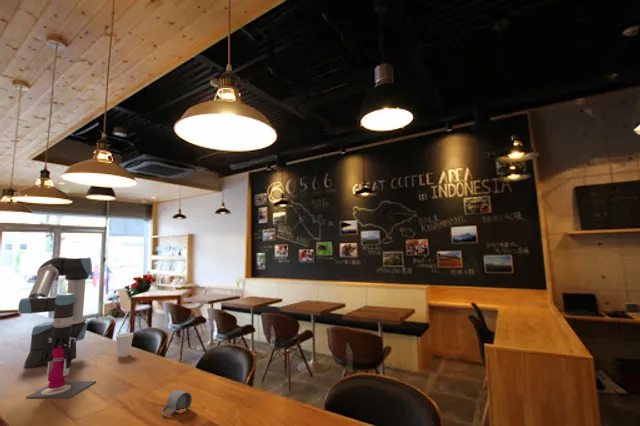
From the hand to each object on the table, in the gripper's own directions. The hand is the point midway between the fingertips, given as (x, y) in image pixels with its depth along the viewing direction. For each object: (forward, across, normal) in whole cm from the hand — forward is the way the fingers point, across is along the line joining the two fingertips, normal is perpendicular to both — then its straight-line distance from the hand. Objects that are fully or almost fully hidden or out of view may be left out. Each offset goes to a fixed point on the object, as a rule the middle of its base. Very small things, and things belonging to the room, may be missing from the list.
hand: (57, 374), depth 150 cm
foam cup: (+8, +1, +51) cm, 52 cm away
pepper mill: (+5, 0, 0) cm, 5 cm away
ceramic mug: (+8, +66, -20) cm, 69 cm away
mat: (+7, +2, +1) cm, 8 cm away
